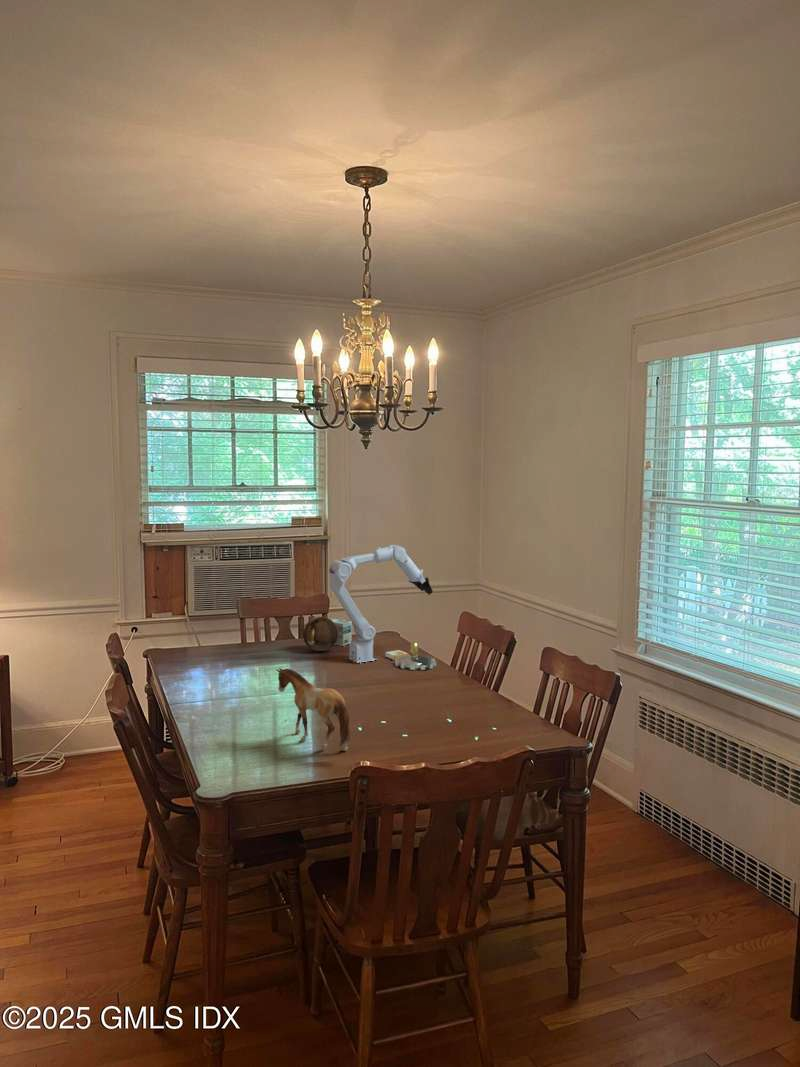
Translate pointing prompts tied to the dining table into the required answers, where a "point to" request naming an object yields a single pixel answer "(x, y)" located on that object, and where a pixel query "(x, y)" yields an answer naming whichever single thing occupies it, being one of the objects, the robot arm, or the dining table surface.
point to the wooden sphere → (320, 634)
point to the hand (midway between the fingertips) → (427, 591)
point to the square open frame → (396, 654)
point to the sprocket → (415, 662)
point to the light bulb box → (343, 631)
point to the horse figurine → (316, 705)
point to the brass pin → (414, 648)
